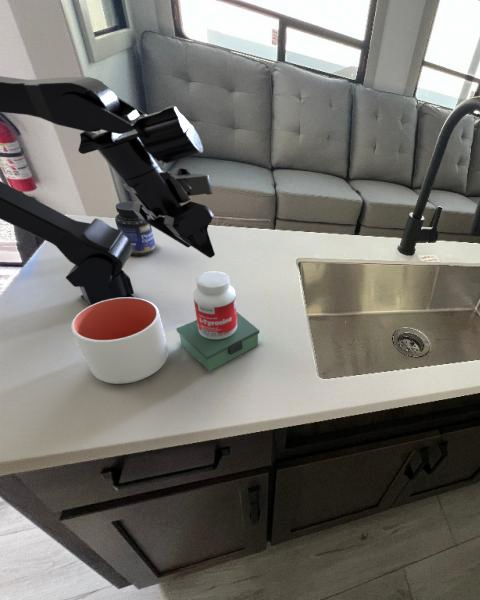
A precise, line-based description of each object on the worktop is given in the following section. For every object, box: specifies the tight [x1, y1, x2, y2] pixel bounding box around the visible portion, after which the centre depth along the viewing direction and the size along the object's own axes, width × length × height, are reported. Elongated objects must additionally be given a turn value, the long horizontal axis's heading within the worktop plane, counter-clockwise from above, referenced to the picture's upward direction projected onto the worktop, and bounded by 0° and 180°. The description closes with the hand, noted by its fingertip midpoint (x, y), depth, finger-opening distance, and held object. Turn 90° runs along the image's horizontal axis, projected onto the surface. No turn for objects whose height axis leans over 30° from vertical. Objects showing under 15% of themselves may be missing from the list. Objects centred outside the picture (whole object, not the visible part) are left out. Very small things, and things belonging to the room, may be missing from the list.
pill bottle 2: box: [192, 270, 238, 340], centre depth 56 cm, size 6×6×11 cm
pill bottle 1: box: [114, 200, 157, 257], centre depth 74 cm, size 6×6×11 cm
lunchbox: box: [175, 311, 260, 372], centre depth 60 cm, size 10×10×4 cm
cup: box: [70, 297, 169, 385], centre depth 51 cm, size 10×10×10 cm
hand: (200, 251), depth 63 cm, fingers open, 9 cm apart
